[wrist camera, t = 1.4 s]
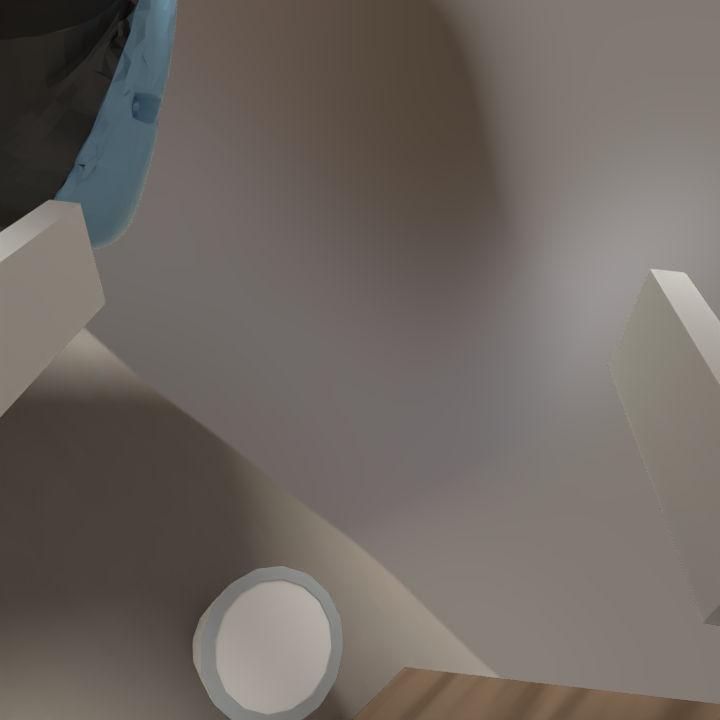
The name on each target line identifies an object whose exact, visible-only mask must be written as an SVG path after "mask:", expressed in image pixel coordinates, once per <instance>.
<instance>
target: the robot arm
mask: <svg viewBox="0 0 720 720" xmlns="http://www.w3.org/2000/svg"><path fill="white" fill-rule="evenodd" d="M176 14H177V0H0V417H1V416H2V415H3V414H4V413H5V412H6V411H7V409H8V408H9V407H10V406H11V405H12V404H13V403H14V402H15V401H16V400H17V399H18V398H19V396H20V395H21V394H22V393H23V392H24V391H25V390H26V389H27V388H28V387H29V386H30V384H31V383H32V382H33V381H34V380H35V379H36V378H37V377H38V376H39V375H40V374H41V373H42V371H43V370H44V369H45V368H46V367H47V366H48V365H49V364H50V363H51V362H52V361H53V359H54V358H55V357H56V356H57V355H58V354H59V353H60V352H61V351H62V350H63V349H64V348H65V346H66V345H67V344H68V343H69V342H70V341H71V340H72V339H73V338H74V337H75V336H76V334H77V333H78V332H79V331H80V330H81V329H82V328H83V327H84V326H85V325H86V324H87V322H88V321H89V320H90V319H91V318H92V317H93V316H94V315H95V314H96V313H97V311H98V310H99V309H100V308H101V307H102V306H103V305H104V304H105V303H106V302H105V299H104V295H103V290H102V287H101V283H100V279H99V275H98V271H97V267H96V264H95V260H94V255H93V252H92V249H98V248H101V247H105V246H108V245H109V244H111V243H113V242H115V241H116V240H118V239H119V238H120V237H121V236H122V235H123V234H124V233H125V231H126V230H127V229H128V227H129V226H130V224H131V222H132V220H133V218H134V215H135V213H136V210H137V208H138V205H139V202H140V199H141V195H142V192H143V189H144V186H145V182H146V178H147V175H148V171H149V167H150V163H151V159H152V155H153V150H154V145H155V140H156V136H157V131H158V111H159V110H160V108H161V105H162V100H163V94H164V91H165V87H166V84H167V80H168V75H169V69H170V63H171V56H172V49H173V41H174V34H175V24H176ZM608 368H609V371H610V373H611V376H612V379H613V381H614V384H615V387H616V390H617V392H618V395H619V398H620V400H621V403H622V406H623V408H624V411H625V414H626V417H627V419H628V422H629V425H630V427H631V430H632V433H633V436H634V438H635V441H636V444H637V446H638V449H639V452H640V454H641V457H642V460H643V462H644V465H645V468H646V471H647V473H648V476H649V479H650V482H651V484H652V487H653V490H654V492H655V495H656V498H657V501H658V503H659V506H660V509H661V511H662V514H663V517H664V519H665V522H666V525H667V528H668V530H669V533H670V536H671V538H672V541H673V544H674V547H675V549H676V552H677V554H678V557H679V560H680V563H681V565H682V568H683V571H684V574H685V576H686V579H687V582H688V584H689V587H690V590H691V593H692V595H693V598H694V601H695V603H696V606H697V609H698V611H699V614H700V617H701V619H702V622H703V623H704V624H711V625H718V626H720V322H719V321H718V319H717V318H716V316H715V315H714V313H713V312H712V310H711V309H710V308H709V306H708V305H707V303H706V302H705V301H704V299H703V297H702V296H701V295H700V293H699V292H698V290H697V289H696V287H695V286H694V285H693V283H692V282H691V280H690V279H689V278H688V276H687V275H686V273H682V272H674V271H665V270H657V269H650V270H649V272H648V274H647V276H646V279H645V281H644V283H643V286H642V288H641V290H640V293H639V295H638V297H637V300H636V302H635V304H634V306H633V309H632V311H631V313H630V316H629V318H628V320H627V323H626V325H625V327H624V329H623V332H622V334H621V336H620V339H619V341H618V343H617V346H616V348H615V350H614V352H613V355H612V357H611V359H610V362H609V364H608Z"/></svg>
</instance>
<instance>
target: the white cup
mask: <svg viewBox="0 0 720 720" xmlns="http://www.w3.org/2000/svg"><path fill="white" fill-rule="evenodd" d="M343 649H344V645H343V636H342V626H341V617H340V615H339V613H338V611H337V609H336V607H335V605H334V603H333V601H332V599H331V597H330V595H329V593H328V591H327V590H326V589H324V588H323V587H322V586H321V585H320V584H319V583H318V582H317V581H316V580H315V579H313V578H312V577H311V576H310V575H309V574H307V573H304V572H301V571H298V570H295V569H292V568H289V567H286V566H276V567H267V568H258V569H255V570H253V571H252V572H250V573H248V574H246V575H245V576H243V577H241V578H239V579H238V580H236V581H234V582H232V583H231V584H230V585H229V586H228V587H227V588H226V589H225V590H224V591H223V592H222V593H221V594H220V595H219V596H218V597H217V598H216V599H215V600H214V601H213V602H212V604H211V605H210V606H209V607H208V609H207V610H206V611H205V612H204V613H203V615H202V616H201V617H200V619H199V622H198V625H197V628H196V631H195V634H194V636H193V663H194V665H195V667H196V670H197V672H198V674H199V677H200V679H201V681H202V683H203V685H204V687H205V689H206V691H207V693H208V694H209V696H210V698H211V700H212V702H213V704H214V705H215V706H216V707H217V708H219V709H220V710H221V711H222V712H223V713H224V714H225V715H226V716H227V717H229V718H230V719H231V720H302V719H304V718H305V717H306V716H308V715H309V714H310V713H312V712H313V711H314V710H315V709H317V708H318V707H319V706H320V705H321V704H322V702H323V700H324V699H325V697H326V695H327V694H328V692H329V691H330V689H331V687H332V686H333V684H334V682H335V681H336V679H337V676H338V671H339V667H340V662H341V658H342V653H343Z"/></svg>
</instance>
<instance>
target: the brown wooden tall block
mask: <svg viewBox="0 0 720 720" xmlns="http://www.w3.org/2000/svg"><path fill="white" fill-rule="evenodd" d="M353 720H720V704H714V703H704V702H697V701H688V700H680V699H671V698H662V697H653V696H645V695H637V694H628V693H620V692H611V691H603V690H594V689H586V688H577V687H568V686H559V685H551V684H542V683H534V682H526V681H517V680H509V679H500V678H492V677H483V676H475V675H466V674H458V673H449V672H440V671H432V670H423V669H415V668H406V667H405V668H404V669H403V670H402V671H401V672H400V673H399V674H398V675H397V676H396V677H395V678H394V679H393V680H392V681H391V682H390V683H389V684H388V685H387V686H386V687H385V688H384V689H383V690H382V691H381V692H380V693H379V694H378V695H377V696H376V697H375V698H374V699H373V700H372V701H371V702H370V703H369V704H368V705H367V706H366V707H365V708H364V709H363V710H362V711H361V712H360V713H359V714H358V715H357V716H356V717H355V718H354V719H353Z"/></svg>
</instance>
